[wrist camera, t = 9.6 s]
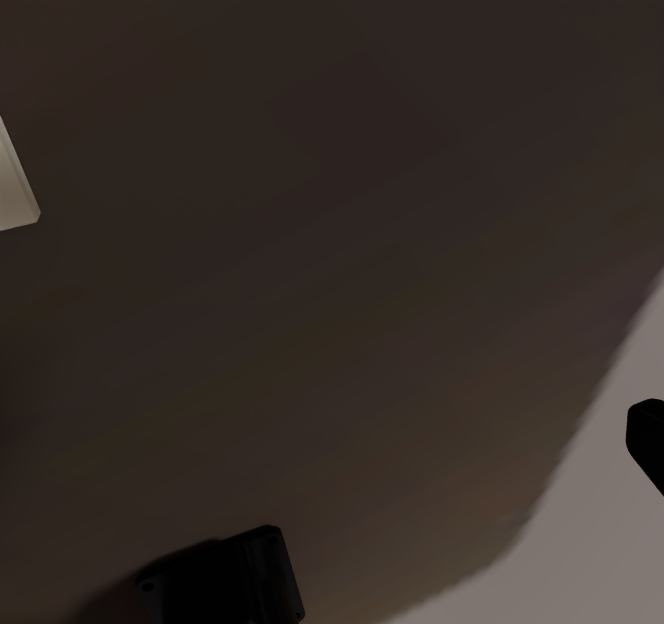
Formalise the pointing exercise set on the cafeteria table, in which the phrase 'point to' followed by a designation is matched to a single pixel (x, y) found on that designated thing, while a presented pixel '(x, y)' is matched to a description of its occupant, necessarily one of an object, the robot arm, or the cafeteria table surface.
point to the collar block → (14, 188)
